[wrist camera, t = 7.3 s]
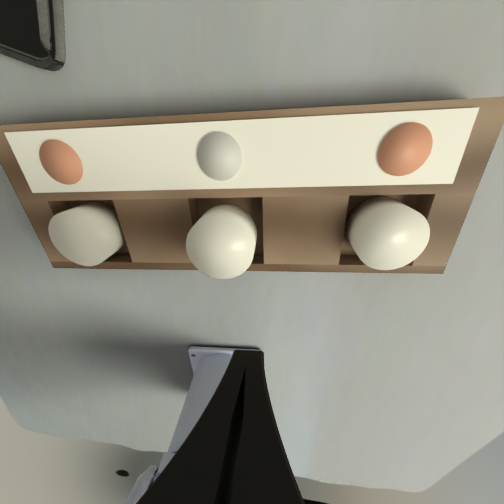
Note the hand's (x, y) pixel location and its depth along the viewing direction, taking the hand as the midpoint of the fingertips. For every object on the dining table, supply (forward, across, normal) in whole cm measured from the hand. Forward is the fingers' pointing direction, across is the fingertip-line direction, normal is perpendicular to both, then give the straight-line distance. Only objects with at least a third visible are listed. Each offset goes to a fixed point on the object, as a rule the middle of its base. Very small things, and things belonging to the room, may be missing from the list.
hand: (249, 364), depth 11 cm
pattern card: (+7, +2, -9) cm, 11 cm away
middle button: (+7, +2, -4) cm, 8 cm away
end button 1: (+8, +12, -4) cm, 15 cm away
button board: (+9, +2, -6) cm, 11 cm away
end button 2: (+8, -8, -4) cm, 12 cm away
